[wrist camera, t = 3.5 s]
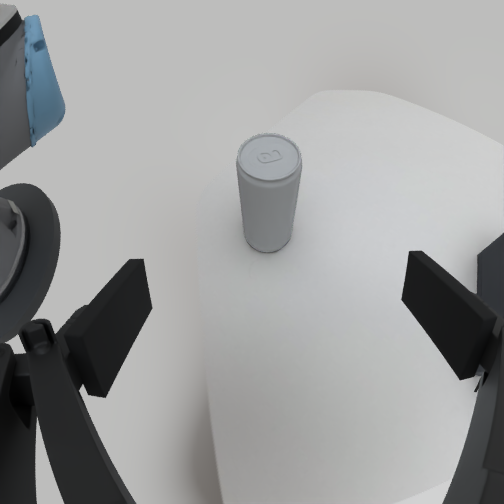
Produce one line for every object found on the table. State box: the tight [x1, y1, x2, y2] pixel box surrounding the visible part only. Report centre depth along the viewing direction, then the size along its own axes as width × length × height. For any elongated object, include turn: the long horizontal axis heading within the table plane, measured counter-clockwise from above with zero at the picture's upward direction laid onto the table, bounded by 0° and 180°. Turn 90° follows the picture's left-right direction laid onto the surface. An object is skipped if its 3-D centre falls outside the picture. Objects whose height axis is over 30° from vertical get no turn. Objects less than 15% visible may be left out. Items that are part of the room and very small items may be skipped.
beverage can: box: [236, 133, 302, 252], centre depth 27 cm, size 5×5×12 cm
